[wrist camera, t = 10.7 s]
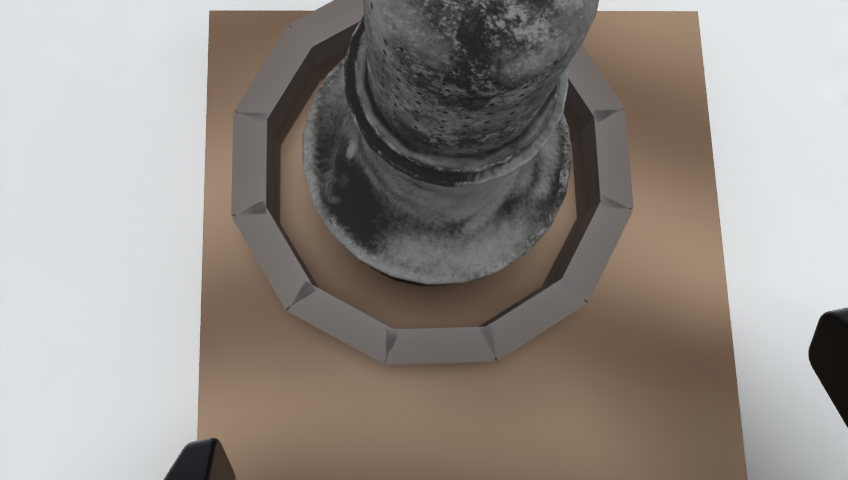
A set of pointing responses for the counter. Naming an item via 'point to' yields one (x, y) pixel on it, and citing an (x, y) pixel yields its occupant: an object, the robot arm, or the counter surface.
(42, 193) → the counter surface
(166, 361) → the counter surface
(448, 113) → the salt shaker
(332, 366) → the board
